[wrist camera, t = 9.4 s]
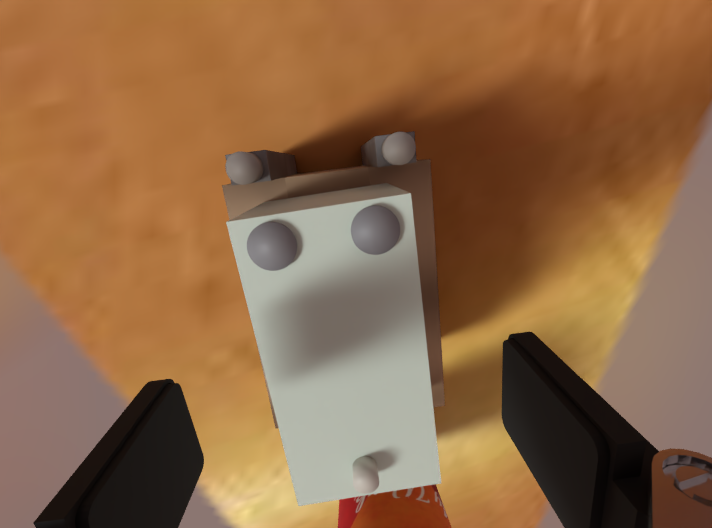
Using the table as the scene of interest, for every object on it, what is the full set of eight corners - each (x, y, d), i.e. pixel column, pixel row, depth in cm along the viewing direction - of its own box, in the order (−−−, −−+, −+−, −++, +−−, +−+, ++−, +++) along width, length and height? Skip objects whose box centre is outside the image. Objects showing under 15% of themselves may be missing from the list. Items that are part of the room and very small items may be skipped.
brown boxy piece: (251, 160, 23) (184, 158, 13) (402, 141, 23) (451, 125, 13) (291, 363, 27) (263, 480, 17) (418, 346, 28) (465, 452, 17)
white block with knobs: (264, 202, 17) (218, 226, 11) (386, 183, 17) (416, 195, 11) (309, 409, 20) (296, 525, 14) (412, 393, 20) (446, 500, 14)
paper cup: (439, 403, 29) (525, 610, 16) (400, 473, 31) (447, 713, 17) (351, 373, 28) (363, 568, 14) (316, 448, 30) (297, 683, 16)
